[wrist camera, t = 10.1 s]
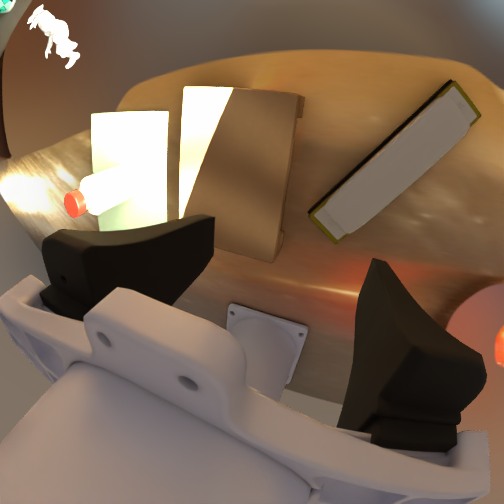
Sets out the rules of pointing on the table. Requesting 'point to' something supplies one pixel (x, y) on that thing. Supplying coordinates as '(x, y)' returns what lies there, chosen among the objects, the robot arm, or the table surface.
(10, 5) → the spray can
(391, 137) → the harmonica
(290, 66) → the table surface
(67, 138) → the table surface
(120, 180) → the spice bottle
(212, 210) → the small bench
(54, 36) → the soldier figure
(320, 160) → the table surface
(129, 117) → the mat
